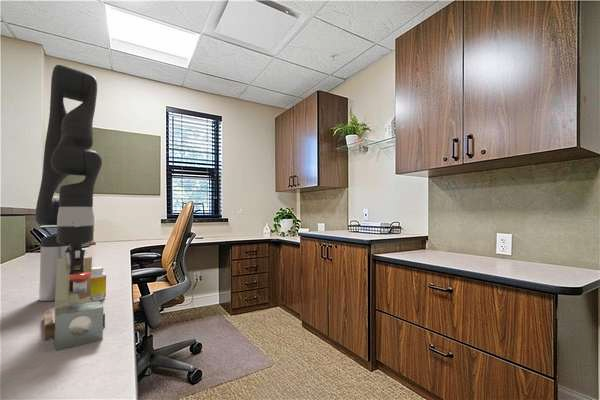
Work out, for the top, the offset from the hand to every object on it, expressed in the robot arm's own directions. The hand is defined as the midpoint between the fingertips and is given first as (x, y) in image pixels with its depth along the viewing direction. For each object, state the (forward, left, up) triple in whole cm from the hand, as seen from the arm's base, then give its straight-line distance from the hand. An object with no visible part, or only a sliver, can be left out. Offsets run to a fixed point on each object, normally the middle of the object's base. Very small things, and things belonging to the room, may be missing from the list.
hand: (74, 288), depth 75 cm
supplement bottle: (-20, +7, -9) cm, 23 cm away
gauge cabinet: (+15, 0, -8) cm, 17 cm away
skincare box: (0, 0, -5) cm, 5 cm away
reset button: (+15, 0, +2) cm, 15 cm away
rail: (0, 0, -8) cm, 8 cm away
